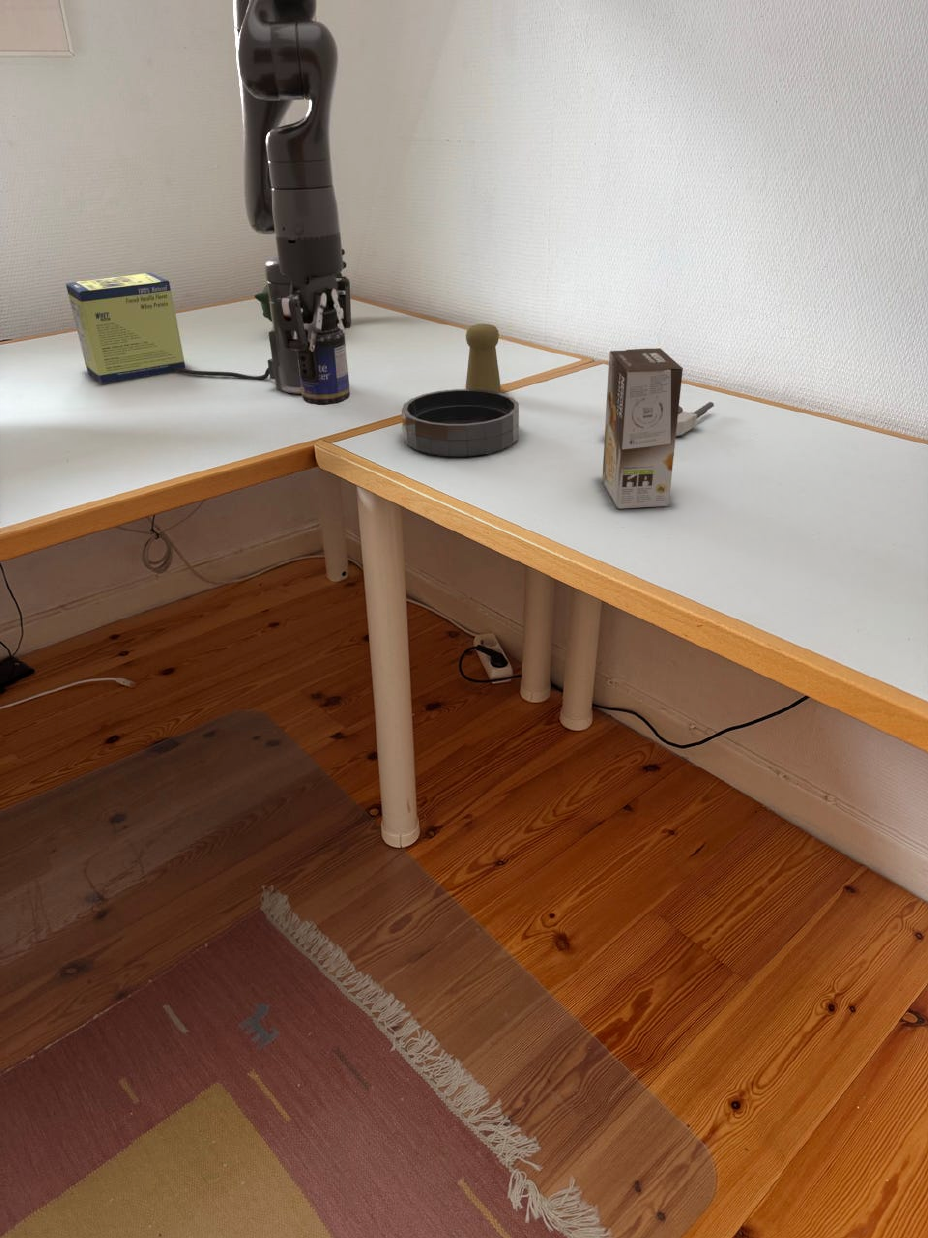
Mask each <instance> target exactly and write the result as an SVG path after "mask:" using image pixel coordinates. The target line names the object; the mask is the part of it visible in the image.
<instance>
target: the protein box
mask: <svg viewBox="0 0 928 1238" xmlns="http://www.w3.org/2000/svg"><path fill="white" fill-rule="evenodd" d="M65 288H66V290H67V295H68V299H69V303H70V307H71V311H72V316H73V321H74V324H75V328H76V331H77V335H78V339H79V343H80V347H81V352H82V356H83V359H84V363H85V367H86V371H87V373H88V374H89V375H90V376H91V377H93V378H94V379H95V380H96V381H97V382H98V383H99V384H101V385H103V384H104V385H105V384H110V383H116V382H121V381H122V382H123V381H127V380H133V379H137V378H138V379H139V378H144V377H150V376H151V377H152V376H157V375H162V374H168V373H175V371H172V370H171V368H172V367H176V368H181V369H187V368H186V362H185V357H184V352H183V347H182V342H181V336H180V333H179V332H180V331H179V327H178V320H177V315H176V309H175V305H174V298H173V293H172V289H171V283H170V281H169V280H168V279H166V278H163V277H161V276H159V275H157V274H154V273H153V272H143V273H138V274H131V275H121V276H115V277H107V278H97V279H90V280H81V281H72V282H67V283H65Z"/></svg>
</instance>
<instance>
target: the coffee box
mask: <svg viewBox="0 0 928 1238" xmlns="http://www.w3.org/2000/svg"><path fill="white" fill-rule="evenodd" d="M608 354H609V355H608V372H607V373H608V374H607V375H608V376H607V388H606V389H607V390H606V409H605V427H604V428H605V429H604V443H603V444H604V445H603V446H604V447H603V459H602V460H603V463H602V478H601V481H602V484H603V485H604V488H605V489H606V491H607V492H608V494H609V496H610V498H611V500H612V501H613V503H614V505H615V507H616V508H617V509H621V510H622V509H633V508H634V509H636V508H637V509H638V508H650V507H653V508H654V507H667V506H668V505H669V502H670V501H669V500H670V493H671V487H672V486H671V485H672V476H673V475H672V474H673V465H674V456H675V448H676V447H675V446H676V438H677V436H676V429H677V419H678V410H679V406H680V399H681V390H682V381H683V380H682V379H683V372H684V371H683V370H684V368H683V367H682V366H681V365H680V364H679V363H678V362H677V361H676V360H674V359H673V358H672V357H671V356H669V354H667V353H666V351H664V350H663V349H662V348H660V347H659V348H635V349H634V348H633V349H625V350H610V351H609V353H608Z"/></svg>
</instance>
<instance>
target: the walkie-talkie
mask: <svg viewBox="0 0 928 1238" xmlns="http://www.w3.org/2000/svg"><path fill="white" fill-rule="evenodd" d="M714 406H715V404H714V402H712V401H709V402H707V403H706V404H704V405H703V406H701V407H700V408H698V409H697V410H695V411H693V412H687V411H684V409H683V407H681V406H680V405H679V410H678V419H677V429H676V437H678V436H682V435H685V434H686V433H687V432H689V431H690V430H692V429H694V428H696V426H697V419H699V418H700V417H701V416H703V415H705V414H706V413H707V412H708V411H709V410H711V409H712V408H713V407H714Z"/></svg>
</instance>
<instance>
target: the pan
mask: <svg viewBox="0 0 928 1238" xmlns="http://www.w3.org/2000/svg"><path fill="white" fill-rule="evenodd" d="M401 418H402V433H403V440H404V442H405V444H406V445H407V446H409V447H411V448H412V449H414V450H416V451H419V452H420V453H425V454H427V455H432V456H438V457H445V458H446V457H447V458H469V457H470V458H471V457H479V456H484V455H489V454H493V453H497V452H500V451H501V450H502V451H503V450H504V449H506V448H508V447H510V446H512V445H513V444H514V443H515V442H516V441H517V440H518V439H519V437H520V403H519V402H518V400H516V399H515V398H514V397H512V396H510V395H508V394H505V393H502V392H501V393H498V392H493V391H488V390H476V389H465V388H459V389H458V388H454V389H445V390H436V391H432V392H426V393H423V394H420V395H417V396H415V397H412V398H410V399H409V400H407V401H406V402H404V403H403V406H402V408H401Z"/></svg>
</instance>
